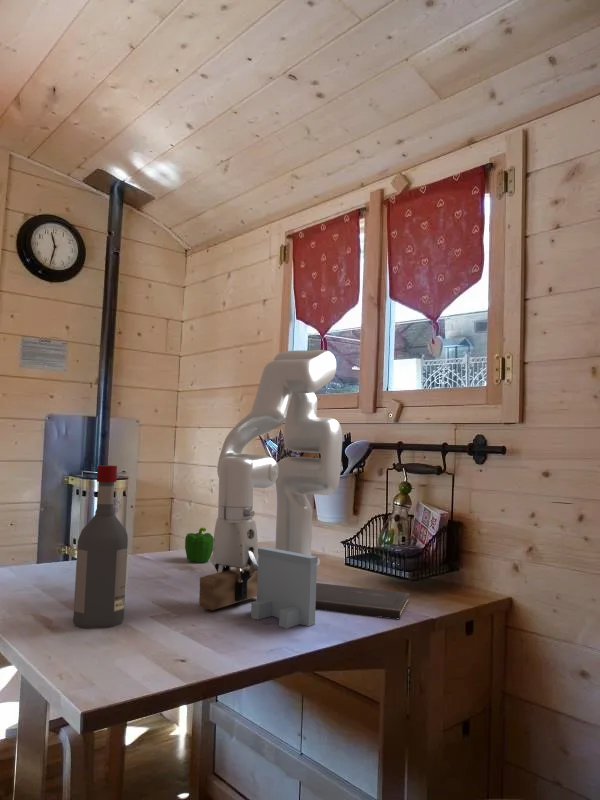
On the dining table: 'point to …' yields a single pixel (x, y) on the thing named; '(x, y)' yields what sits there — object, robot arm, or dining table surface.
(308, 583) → the panel
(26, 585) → the dining table surface
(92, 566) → the liquor
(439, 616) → the dining table surface
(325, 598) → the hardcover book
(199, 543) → the bell pepper
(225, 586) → the brown wooden block
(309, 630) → the dining table surface
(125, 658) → the dining table surface
